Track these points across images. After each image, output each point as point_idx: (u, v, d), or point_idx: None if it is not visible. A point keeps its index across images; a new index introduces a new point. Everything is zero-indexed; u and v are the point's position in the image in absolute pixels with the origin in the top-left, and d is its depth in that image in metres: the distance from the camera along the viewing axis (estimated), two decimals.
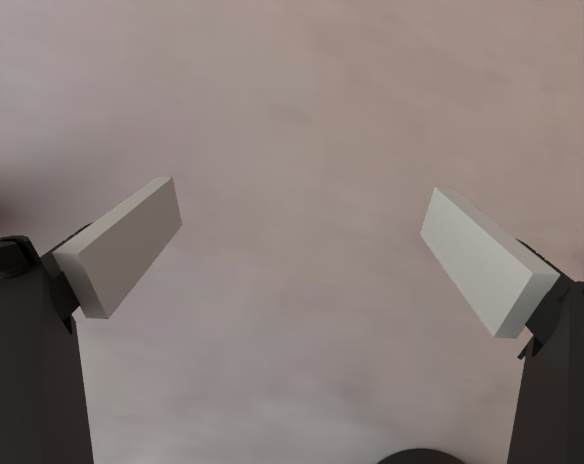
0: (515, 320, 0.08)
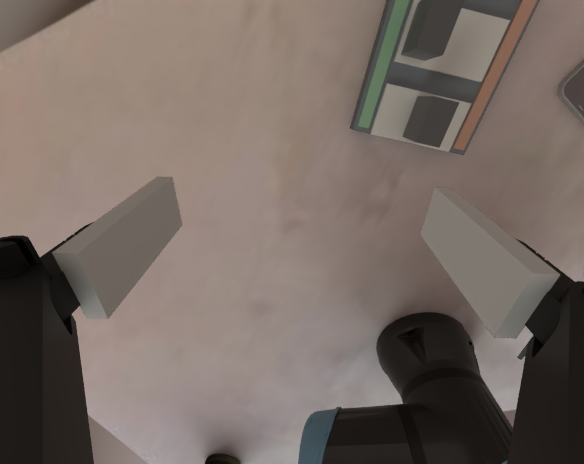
0: (515, 321, 0.08)
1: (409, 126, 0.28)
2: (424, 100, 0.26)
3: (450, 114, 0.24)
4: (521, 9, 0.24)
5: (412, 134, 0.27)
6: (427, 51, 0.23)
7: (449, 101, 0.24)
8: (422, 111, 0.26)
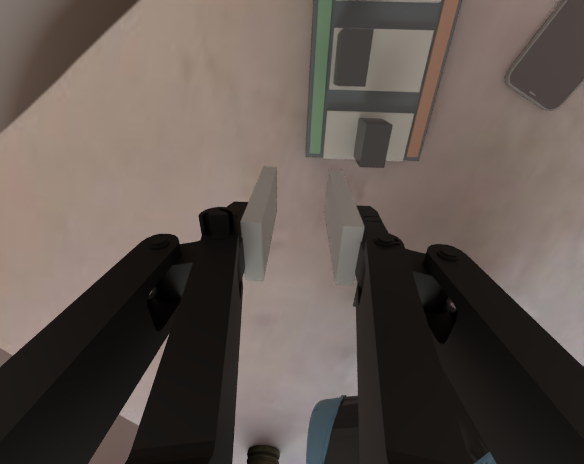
0: (346, 268, 0.10)
1: (356, 147, 0.29)
2: (362, 125, 0.26)
3: (386, 137, 0.25)
4: (443, 17, 0.24)
5: (358, 157, 0.28)
6: (349, 85, 0.23)
7: (382, 125, 0.25)
8: (361, 136, 0.27)
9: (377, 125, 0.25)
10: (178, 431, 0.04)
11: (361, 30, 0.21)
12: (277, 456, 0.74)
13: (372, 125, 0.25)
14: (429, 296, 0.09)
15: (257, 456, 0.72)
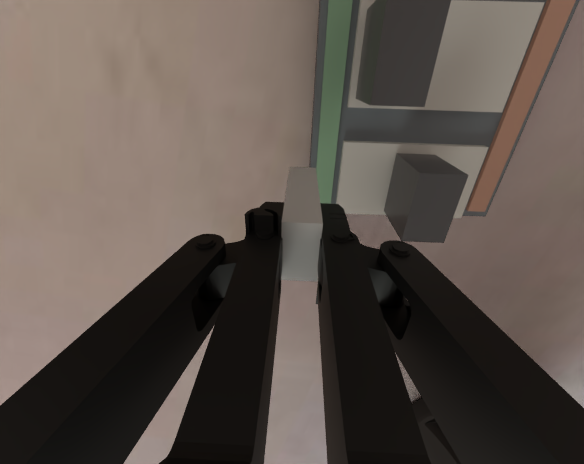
0: (309, 265, 0.11)
1: (390, 201, 0.18)
2: (406, 169, 0.15)
3: (454, 194, 0.14)
4: None
5: (396, 220, 0.16)
6: (393, 105, 0.12)
7: (449, 176, 0.14)
8: (405, 189, 0.15)
9: (440, 175, 0.13)
10: (218, 430, 0.04)
11: None
12: None
13: (430, 175, 0.14)
14: (382, 292, 0.09)
15: None
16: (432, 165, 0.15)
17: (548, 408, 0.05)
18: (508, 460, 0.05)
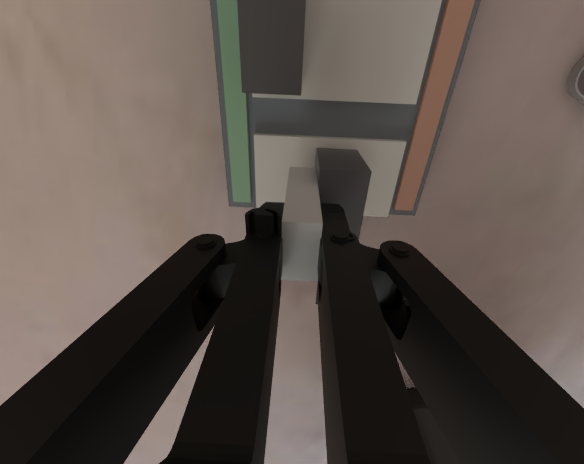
0: (308, 265, 0.11)
1: None
2: (317, 165, 0.14)
3: (360, 193, 0.13)
4: None
5: None
6: (268, 93, 0.11)
7: (351, 173, 0.12)
8: None
9: (341, 172, 0.12)
10: (218, 430, 0.04)
11: None
12: None
13: (331, 171, 0.12)
14: (382, 291, 0.09)
15: None
16: (342, 161, 0.14)
17: (548, 407, 0.05)
18: (508, 460, 0.05)
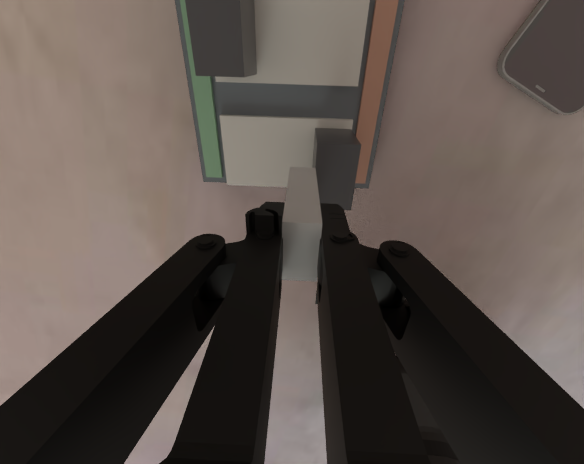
0: (308, 265, 0.11)
1: None
2: (315, 141, 0.16)
3: (352, 163, 0.15)
4: None
5: None
6: (218, 75, 0.13)
7: (344, 146, 0.15)
8: (314, 160, 0.17)
9: (335, 145, 0.15)
10: (219, 430, 0.04)
11: None
12: None
13: (327, 145, 0.15)
14: (382, 291, 0.09)
15: None
16: (336, 137, 0.16)
17: (548, 408, 0.05)
18: (507, 460, 0.05)
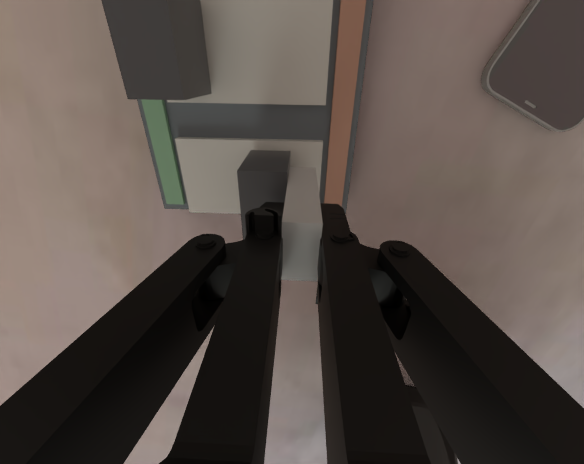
0: (308, 265, 0.11)
1: None
2: None
3: (280, 193, 0.13)
4: None
5: None
6: (154, 98, 0.11)
7: (268, 173, 0.13)
8: None
9: (258, 173, 0.13)
10: (219, 430, 0.04)
11: None
12: None
13: (248, 173, 0.13)
14: (382, 291, 0.09)
15: None
16: (266, 162, 0.14)
17: (548, 407, 0.05)
18: (508, 460, 0.05)
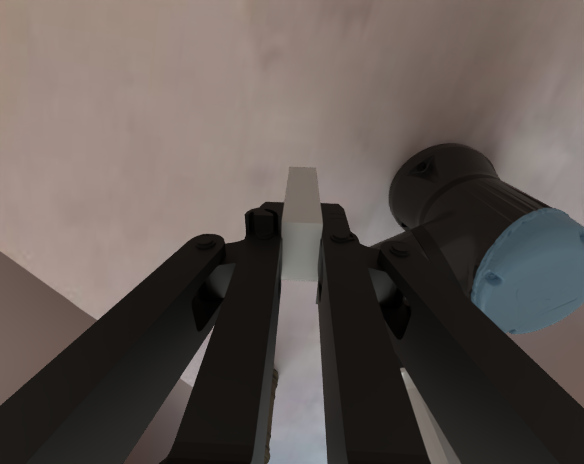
0: (309, 265, 0.11)
1: None
2: None
3: None
4: None
5: None
6: None
7: None
8: None
9: None
10: (218, 430, 0.04)
11: None
12: (276, 377, 0.69)
13: None
14: (382, 291, 0.09)
15: None
16: None
17: (548, 407, 0.05)
18: (508, 460, 0.05)
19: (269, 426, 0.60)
